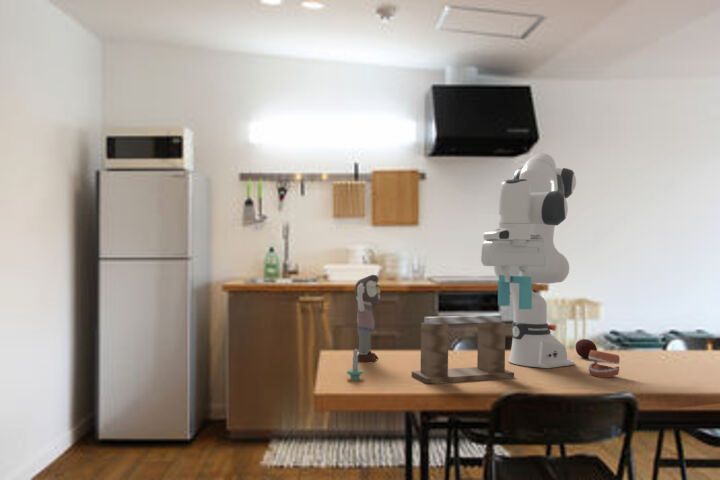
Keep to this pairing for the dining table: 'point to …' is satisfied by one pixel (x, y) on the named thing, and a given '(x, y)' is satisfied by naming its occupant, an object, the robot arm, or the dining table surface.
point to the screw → (355, 367)
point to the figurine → (366, 315)
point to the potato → (585, 347)
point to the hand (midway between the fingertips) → (514, 282)
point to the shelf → (437, 350)
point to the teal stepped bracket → (524, 291)
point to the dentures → (601, 369)
